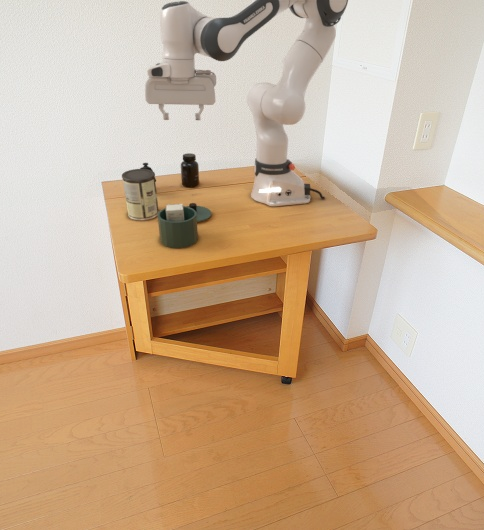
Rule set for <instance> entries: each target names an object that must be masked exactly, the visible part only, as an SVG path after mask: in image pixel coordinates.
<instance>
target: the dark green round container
mask: <svg viewBox="0 0 484 530" xmlns="http://www.w3.org/2000/svg"><path fill="white" fill-rule="evenodd" d="M183 211H184V221H180V222H172V221H167V217H166V207H165V208H162V209H160V210H159V212H158V216H157V225H158V233H159V240H160V244H162V245H163V246H164V247H166V248H170V249H185V248H188V247H191V246H193V245H195V244H197V242H198V238H199V237H198V236H199V235H198V222H197V212H196V211H195V210H194V209H192V208H190V207H186V206H184V205H183Z"/></svg>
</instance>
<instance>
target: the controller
mask: <svg viewBox="0 0 484 530" xmlns="http://www.w3.org/2000/svg"><path fill="white" fill-rule="evenodd" d="M139 169H148V170H151V171H153V172H154V170H153V168H152V167H150V166H149V163H148V162H143V163H142V167H140V168H139ZM156 182H157V178H155V183H156Z"/></svg>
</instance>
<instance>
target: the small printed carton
mask: <svg viewBox="0 0 484 530" xmlns="http://www.w3.org/2000/svg"><path fill="white" fill-rule="evenodd" d="M183 206H184V204H183V203H173V204H165V208H166V217H167V221H172V222H180V221H184V211H183Z"/></svg>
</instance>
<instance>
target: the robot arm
mask: <svg viewBox="0 0 484 530" xmlns="http://www.w3.org/2000/svg"><path fill="white" fill-rule="evenodd" d="M348 2H349V0H250V3H249V4H247V5H245V6H244V7H243V8H242V9H241V10H239V11H238V12H237V13H235V14H233V15H232V16H228V17H211V16H208V15H206V14H204V13H202V12H200V11H199V10H197V9H196V8H194V6H192V5H191V4H190V2H189V1H187V0H186V1H185V0H178V1H173V2H168V3H166V4H164V5H163V6H162V7H161V10H160V14H159V15H160V16H159V18H160V20H159V27H160V41H161V44H162V57H161V58H162V61H161V62H157V63H155V64H153V65H150V66H149V67H148V68H147V70H146V73H147V79H146V80H145V86H144V87H145V88H144V89H145V90H144V93H145V94H144V97H145V98H144V99H145V101H146V103H147V104H148V105H158V109H159V111H160V112H161V114H162V116H163V117H162V118H163V121H169V120H170V113H169V112H166V110H165V109H164V108H165V105H186V106H187V105H189V106H191V105H192V106H198V109H199V110H198V112H196V113H195V114H194V117H195V121H201V115H202V113H203V111H204V109H205V108H204V107H205V106H214V104H215V103H216V93H215V92H216V91H215V87H216V85H217V76H216V73H214V72H213V71H211V70H210V69H206V70H205V69H196V64H195V63H196V62H195V59H196V58H195V55H196V54H199V55H202V56H205V57H208V58H211V59H213V60H215V61H218V62H226V61H229V60H230V59H232V58H234V56H235V55H236V54H237V53H238V52H239V50H240V48H241V47H242V45H243V44H244V42H245V41H246V40H248V38H250V37H251V36H252V35H254V34H255V33H256V32H257V31H259V30H260V29H261V28H262V27H264V26H265V25H266V24H267V23H269V22H270V21H271V20H272V19H274V18H275V17H277V16H278V15H280V14H281V13H283V12H285V11H286V10H288V9H289V11H290V12H291V13H292V14H293V15H294V16H296V17H297V18H299V19H305V23H304V26H303V29H302V31H301V32H300V34H299V35H298V37H297V38H296V39H295V41H294V42H293V44H292V45H291V47H290V48H289V50H288V52H286V55H285V56H284V57H283V59H282V61H281V70H282V73H281V76H280V78H279V81H278V82H277V83H276V84H274V83H272V82H267V81H265V82H257V83H254V84H252V85H251V86H250V87H249V89H248V91H247V93H246V104H247V106H248V109H250V112H251V115H252V119H253V123H254V129H255V134H256V135H255V136H256V153H255V154H256V157H255V159H254V167H253V168H254V169H253V171H254V179H253V186H252V190H251V192H250V198H251V199H252V200H254V201H256V202H258V203H261V204H265V205H267V206H269V207H283V206H291V205H303V204H309V203H310V202H311V192H313V193H317V194H318V195H319V197H320V199H322V200H325V198H326V197H325V196H323V194H322V193H321V192H320V191H319V190H317V189H314V188H311V183H306V182H304V180H303V179H302V177H301V176H300V175H298V174H297V173H296V172H295V171H294V170H295V169H296V166H295V164H294V163H293V162H292V160H290V159H289V158H288V151H289V136H288V134H287V133H286V130H285V128H284V125H285V126H293V125H296V124H298V123H299V122H300V121H301V120H302V119H303V117H304V115H305V112H306V102H305V101H306V100H305V96H306V93H307V89H308V87H309V84H310V83H311V80H312V79H313V77H314V76H315V74H316V73H317V71H318V69H319V68H320V66H321V65H322V63H323V62H324V60H325V59H326V57H327V55H328V53H329V52H330V50H331V48H332V46H333V43H334V41H335V39H336V37H337V36H336V35H337V31H336V28H335V25H337V24H338V23H339V22H340V21H341V19H342V16H343V15H344V13H345V11H346V10H347V9H346V8H347V6H348Z"/></svg>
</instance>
